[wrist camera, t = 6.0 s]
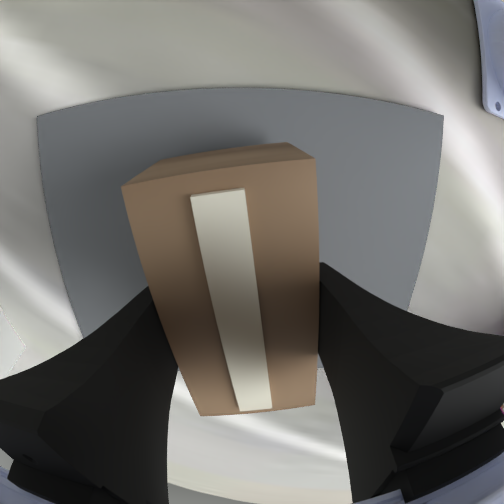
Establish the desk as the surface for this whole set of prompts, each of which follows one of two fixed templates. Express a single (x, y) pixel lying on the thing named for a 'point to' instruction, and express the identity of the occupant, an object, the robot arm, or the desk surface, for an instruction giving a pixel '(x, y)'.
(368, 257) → the rubber mat
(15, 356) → the white cube
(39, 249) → the desk surface
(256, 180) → the brown box with strip
